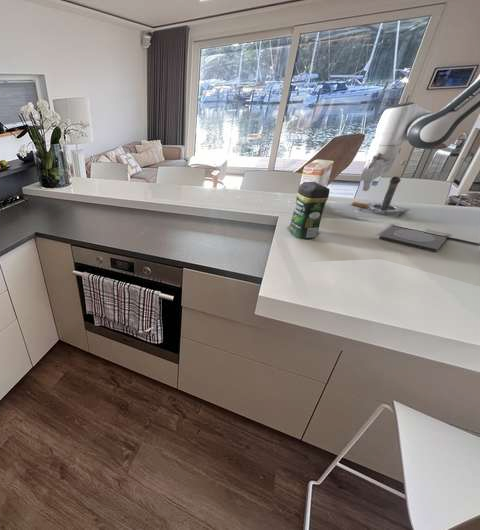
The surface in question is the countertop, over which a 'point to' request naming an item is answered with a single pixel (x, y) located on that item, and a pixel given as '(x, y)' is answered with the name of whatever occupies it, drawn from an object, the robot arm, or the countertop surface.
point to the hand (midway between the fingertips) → (369, 187)
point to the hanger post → (390, 192)
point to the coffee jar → (308, 210)
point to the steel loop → (373, 209)
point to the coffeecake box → (317, 172)
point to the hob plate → (414, 238)
